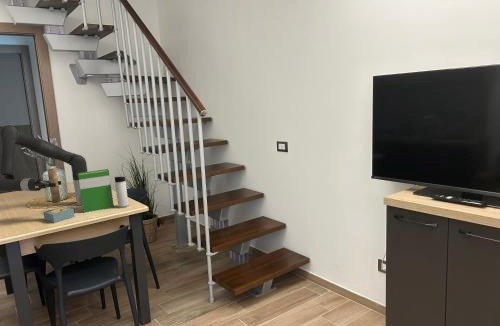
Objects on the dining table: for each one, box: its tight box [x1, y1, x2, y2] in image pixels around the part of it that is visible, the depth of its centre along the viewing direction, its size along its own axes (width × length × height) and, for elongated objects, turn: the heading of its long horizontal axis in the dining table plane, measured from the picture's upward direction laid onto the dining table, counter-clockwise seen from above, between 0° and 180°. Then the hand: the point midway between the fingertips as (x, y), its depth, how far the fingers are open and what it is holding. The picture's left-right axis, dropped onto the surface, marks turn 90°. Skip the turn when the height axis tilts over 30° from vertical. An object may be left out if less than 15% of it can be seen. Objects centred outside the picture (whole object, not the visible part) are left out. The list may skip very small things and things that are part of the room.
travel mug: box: [114, 176, 130, 209], centre depth 236 cm, size 6×7×20 cm
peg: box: [46, 167, 62, 204], centre depth 218 cm, size 4×4×20 cm
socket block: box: [43, 205, 75, 224], centre depth 221 cm, size 12×12×5 cm
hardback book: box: [78, 168, 115, 214], centre depth 235 cm, size 18×7×24 cm, turn 116°
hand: (58, 183), depth 218 cm, fingers closed on peg, 4 cm apart
